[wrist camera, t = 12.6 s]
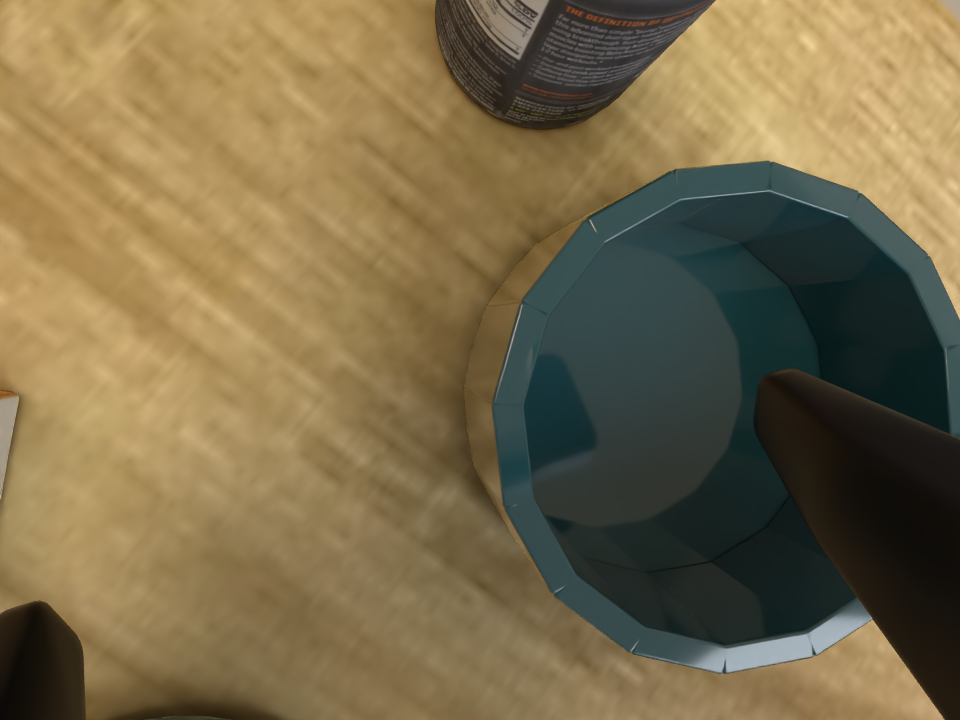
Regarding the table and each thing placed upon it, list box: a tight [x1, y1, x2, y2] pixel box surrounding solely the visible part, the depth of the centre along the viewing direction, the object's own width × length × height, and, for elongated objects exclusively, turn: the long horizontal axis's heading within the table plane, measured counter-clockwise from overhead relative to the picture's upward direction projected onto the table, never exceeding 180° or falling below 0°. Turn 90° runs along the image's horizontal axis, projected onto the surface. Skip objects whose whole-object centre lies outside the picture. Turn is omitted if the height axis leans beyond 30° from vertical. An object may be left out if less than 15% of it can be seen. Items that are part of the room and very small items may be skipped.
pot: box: [464, 161, 960, 674], centre depth 19 cm, size 11×11×6 cm
